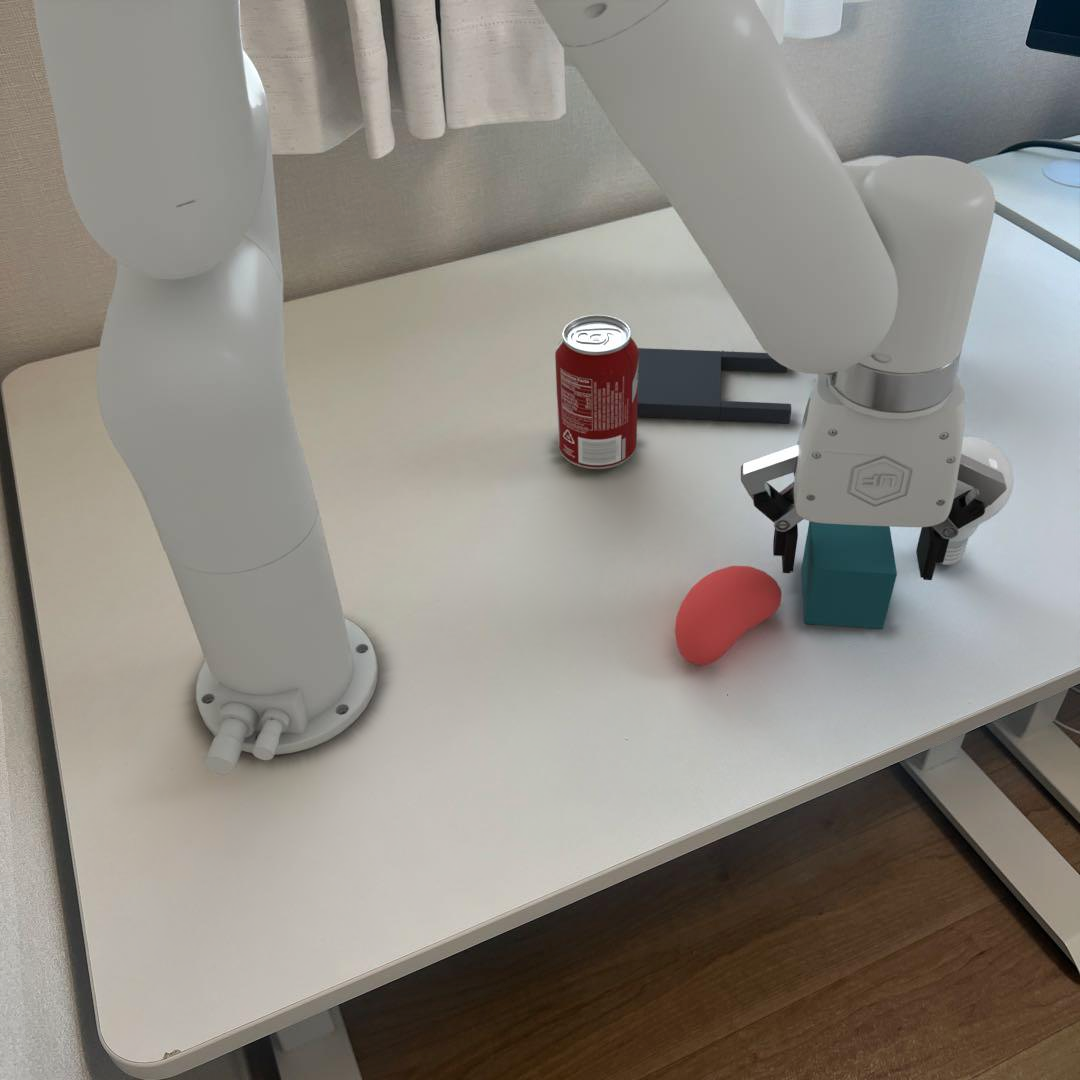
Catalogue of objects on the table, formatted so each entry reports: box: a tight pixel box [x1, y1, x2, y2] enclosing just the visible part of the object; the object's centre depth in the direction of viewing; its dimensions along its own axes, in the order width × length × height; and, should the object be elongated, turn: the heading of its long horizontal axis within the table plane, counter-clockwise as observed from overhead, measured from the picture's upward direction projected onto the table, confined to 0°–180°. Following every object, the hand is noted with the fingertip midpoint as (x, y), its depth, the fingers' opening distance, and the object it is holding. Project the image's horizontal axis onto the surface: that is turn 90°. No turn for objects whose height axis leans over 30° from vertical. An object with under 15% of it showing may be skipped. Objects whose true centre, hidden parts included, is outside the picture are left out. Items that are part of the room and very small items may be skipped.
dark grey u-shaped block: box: [637, 347, 792, 424], centre depth 102 cm, size 9×18×2 cm, turn 83°
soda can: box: [554, 314, 639, 470], centre depth 92 cm, size 7×7×12 cm
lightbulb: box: [939, 435, 1015, 566], centre depth 81 cm, size 6×6×11 cm
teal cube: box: [800, 521, 898, 630], centre depth 80 cm, size 6×6×6 cm
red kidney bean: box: [674, 565, 782, 666], centre depth 79 cm, size 5×9×6 cm, turn 122°
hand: (854, 563), depth 80 cm, fingers open, 9 cm apart
